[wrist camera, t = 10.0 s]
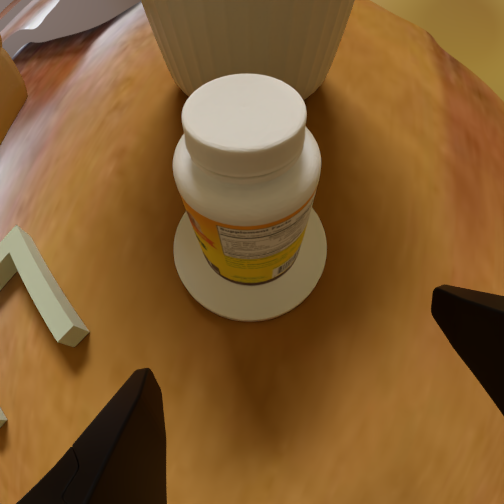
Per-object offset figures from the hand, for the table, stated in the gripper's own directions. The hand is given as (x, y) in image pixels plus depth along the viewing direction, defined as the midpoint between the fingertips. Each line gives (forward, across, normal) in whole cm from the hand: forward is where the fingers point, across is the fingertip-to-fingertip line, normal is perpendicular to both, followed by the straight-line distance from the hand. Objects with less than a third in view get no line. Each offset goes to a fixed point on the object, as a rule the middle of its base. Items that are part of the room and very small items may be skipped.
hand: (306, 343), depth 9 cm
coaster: (+11, 0, +1) cm, 11 cm away
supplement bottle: (+10, 0, +1) cm, 11 cm away
